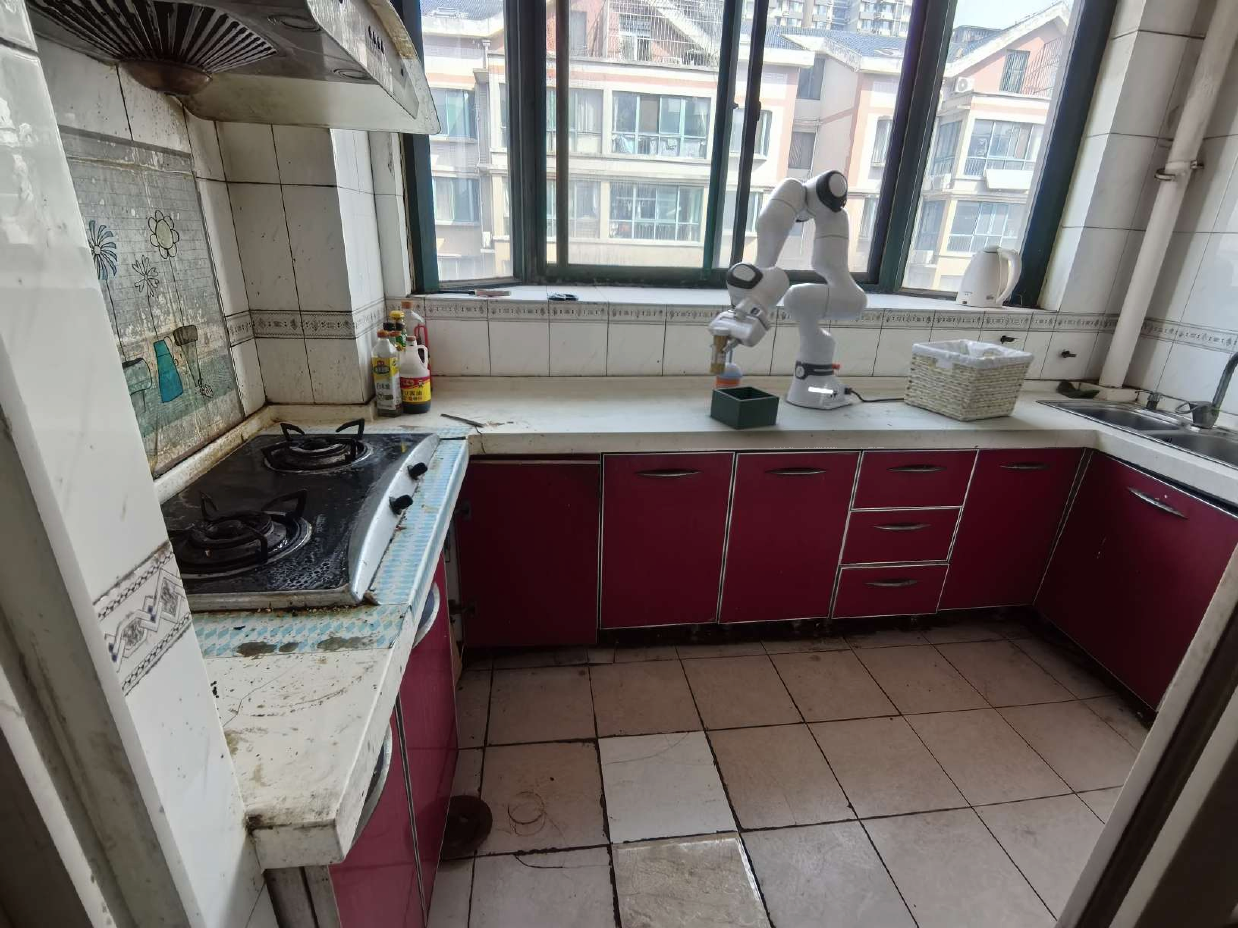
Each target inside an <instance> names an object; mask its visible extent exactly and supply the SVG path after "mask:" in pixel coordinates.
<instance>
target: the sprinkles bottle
mask: <svg viewBox="0 0 1238 928" xmlns="http://www.w3.org/2000/svg"><path fill="white" fill-rule="evenodd" d="M713 334H714V336H713V338H712V339H713V340H712V342H713V345H712V348H711V355H710V356H711V357H710V369H709V373H710V374H711V375H714V376H715V375H722V374H724V373H725V372H724V370H725V363H727V362H726V361H727V354H726V353H723V351H722V350H721V348H722V347H723V346H724V345H727V344H728V335H729V329H728V328H724V327H715V328H714V331H713Z"/></svg>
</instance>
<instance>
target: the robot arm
mask: <svg viewBox="0 0 1238 928" xmlns="http://www.w3.org/2000/svg"><path fill="white" fill-rule="evenodd" d="M848 195H849V184H848V180H847V178H846V177H845V174H843V173H842V172H841V171H839V170H837V169H832V170H827V171H823V172H822V173H821V174H819V175H817V176H815V177H813V178H810V179H809V180H807V181H806V182H805V183H803V182H802V181H800V180H798V179H796V178H793V177H788V178H787V177H786V178H784V179H782V180H781V181H780V182H779V183H778V184H777V185H776V186H775V188H773V190H772V191H771V193H770V194H769V195H768V197H767V199H766V201H765V203H764V204H763V206H762V208H761V210H760V212H759V215H758V218H757V221H756V226H755V227H756V229H755V230H756V244H757V245H756V256H755V260H754V263H750V262H746V261H740V262H738V263H736V264H734V265H732V266H731V267H730V268H729V269H728V270H727V271H726V274H725V282H726V283H725V284H726V287H727V291H728V295H729V299H730V306H731V309H732V310H731V309H728V310H726V311H723V312H721V313H720V314H718V315H717V316H716V317H715V318H714V319H713V320H712V321H711V322H710V323H709V324H708V326H707V331H708V332H709V333H710V335H711V336H712V337H714V334H713V331H714V328H715V327H724V328H728V329H729V335H728V341H729V343H727V345H724V346H723V347H722V348H721V350H722V351H723V353H726V355H728V354H729V353H730V350H733V349H735V348H737V347H738V346H739V345H741V346H744V347H748V348H754V347H756V346H757V345H758V344H759V343H760V342H761V340H763V338H764V337H765V336H766V334H767V332H768V331H770V330H771V329H772V328H773V325H772V323H771V321H770V320H769V318H768V315H769V313H770V312H771V310H773V309H774V308H775V307H777V305H778V304H779V303H780V302H781V301H782V300H783V301H782V302H783V308H784V311H785V313H786V314H787V315H788V316H789V317H790V319H792V320H793V321H794V323H795V325H796V327H797V329H798V333H799V345H798V346H799V348H798V356H797V359H796V360H795V364H794V374H793V377H792V381H791V384H790V389H789V392H788V393H787V396H786V401H787V402H788V403H790V404H793V405H795V406H796V405H797V406H800V407H805V408H814V409H815V408H816V409H821V410H831V409H835V408H840V407H844V406H848V405H851V404H852V400H851V399H850V398H848V397H846V396H851V395H852V394H854V395H856V396H857V398H858V399H859V401H860V402H862V403H863V402H864V403H877V402H891V401H904V397H895V398H892V397H891V398H878V399H877V398H876V399H864V398H863V397H861V395H860V394H859V393H858V392H856V391H855V390H853V388H852V387H850V386H848V385H846V384H844V383H843V382H842V381H841V380H840V379H839V377H837V375H835V371H840V369H841V368H842V366H841V364H840V363H833V359H834V353H835V348H836V339H835V337H834V335H833V334H831V332H828V331H827V330H825V329H824V328H822V327H821V325H820V321H823V320H824V321H836V322H837V321H839V322H845V321H847V322H848V321H854V320H858V319H860V318H861V316H862V315H864V313H865V311H866V310H867V306H868V297H867V295H866V294H867V293H866V292H865V290H864V289H863V288H861V287H860V286H859V285H858V284H857V282H856V281H855V280H854V278H853V277H852V275H851V272H850V268H849V249H850V248H849V247H850V241H851V240H850V237H851V222H850V221H851V220H850V214H849V212H848V211H847V210H846V208H845V207H846V205H847V202H848ZM812 219H813V221H814V225H815V230H814V236H813V240H812V241H813V243H812V251H811V260H810V265H811V267H812V269H813V271H814V272H815V273H816V274H818V275H819V276H821V277H823V278H824V279H825V280H826V282H827V284H826V283H825V284H824V283H808V282H807V283H799V284H793V285H791V286H790V278H789V276H788V275H787V273H786V272H785V271H784V270H783V268H781V267H779V266H776V264H777V261H778V259H779V256H780V254H781V252H782V250H783V248H784V246H785V244H786V241H787V239H788V237H789V235H790V233H791V232H792V229H793V227H794V225H795V223H797V224H800V223H805V222H808V221H810V220H812ZM712 345H713V341H712V342H711V343H710V344H709V346H710V348H711V349H712Z"/></svg>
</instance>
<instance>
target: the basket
mask: <svg viewBox="0 0 1238 928" xmlns="http://www.w3.org/2000/svg"><path fill="white" fill-rule="evenodd" d="M986 354H988V355H990V356H985V355H986ZM992 355H996V356H992ZM1034 360H1035V354H1034V353H1032V352H1029V351H1026V352H1025V351H1023V350H1017V349H1014V348H1009V347H1005V346H1002V345H998V344H995V343H989V342H982V341H975V340H968V339H967V338H964V339H962V338H961V339H958V340H953V339H952V340H941V341H939V340H938V341H928V342H915V343H914V344H913V345H912V349H911V358H910V364H909V369H908V376H907V382H906V385H905V391H904V397H903V398H904V400H903V401H904V403H906V404H907V405H911V406H915V407H919V408H921V409H926V410H929V411H932V412H933V413H939V414H942V415H944V416H946V417H949V418H952V419H956V420H958V421H960V422H967V421H974V420H977V419H979V420H985V419H987V418H996V417H1004V416H1011V415H1013V412H1014V411H1015V406H1016V404H1017V401H1018V399H1019V396H1020V393H1021V390H1022V388H1023V385H1024V382H1025V379H1026V377H1027V374H1028V372H1029V369H1030V366H1031V364H1032V363H1033V362H1034Z"/></svg>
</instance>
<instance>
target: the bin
mask: <svg viewBox="0 0 1238 928" xmlns="http://www.w3.org/2000/svg"><path fill="white" fill-rule="evenodd" d="M780 397H781V396H779V395H776V394H773V393H770V392H768V391H766V390H763V389H761V388H758V387H755V386H753V385H742V386H739V387H732V388H722V389H716V388H713V389H712V393H711V403H710V412H709V413H710V414H709V416H710V417H711V418H713V419H715V420H717V421H719V422H720V423H723V424H725V425H727V426H729V427H730V428H733V429H735V430H744V429H752V428H759V427H766V426H774V425H776V424H777V417H778V411H779V405H780Z"/></svg>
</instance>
